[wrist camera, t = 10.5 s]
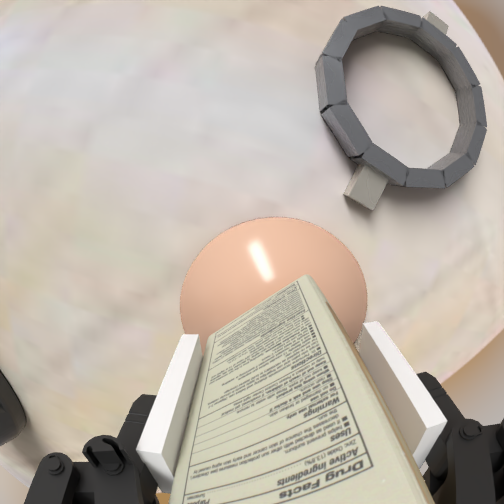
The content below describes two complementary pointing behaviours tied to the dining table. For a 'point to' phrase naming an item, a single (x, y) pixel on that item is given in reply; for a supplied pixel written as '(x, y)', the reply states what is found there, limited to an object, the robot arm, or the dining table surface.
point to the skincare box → (291, 415)
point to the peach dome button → (269, 274)
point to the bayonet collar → (351, 130)
